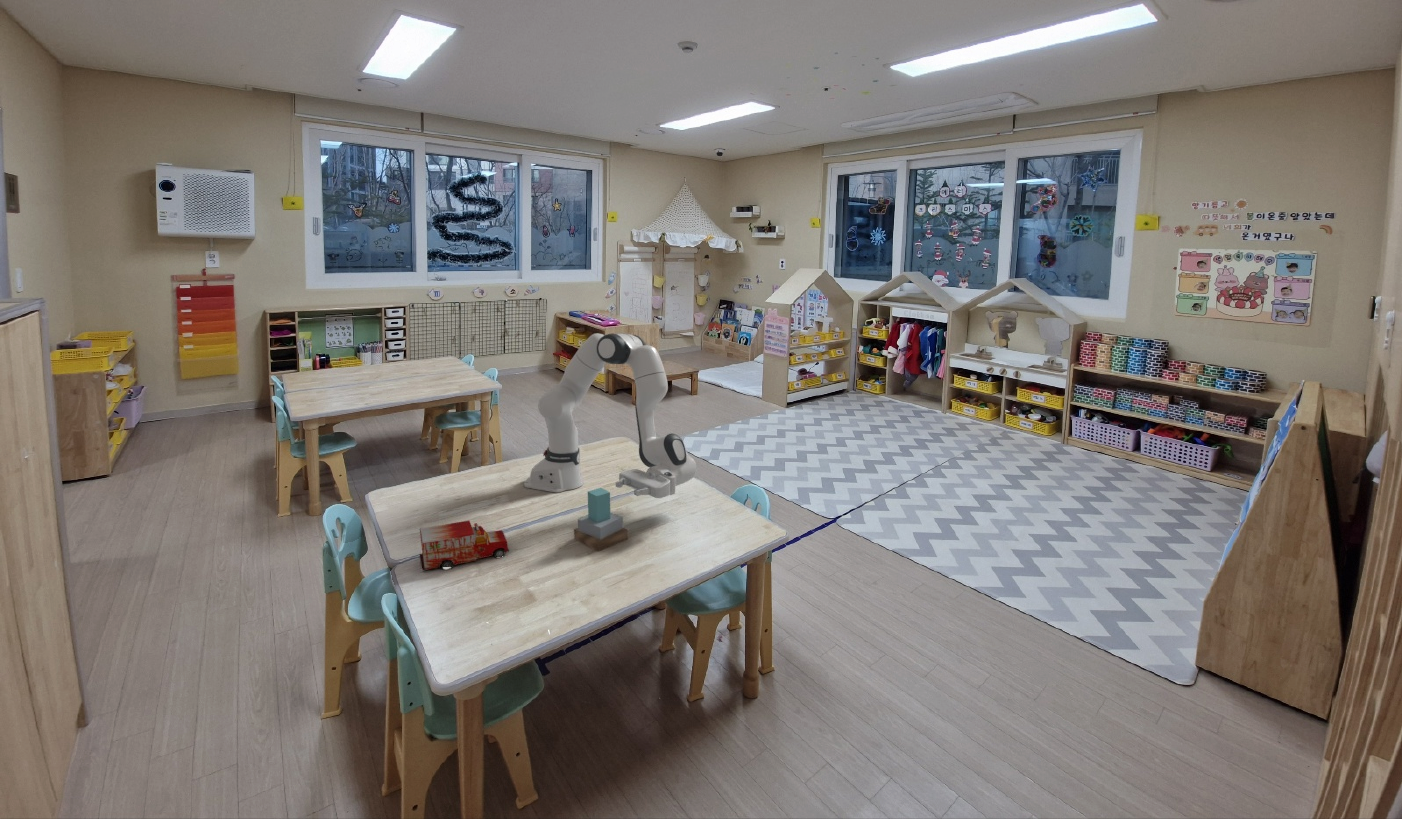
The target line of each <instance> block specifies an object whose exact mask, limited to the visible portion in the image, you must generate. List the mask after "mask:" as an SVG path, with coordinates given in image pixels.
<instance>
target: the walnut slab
mask: <svg viewBox="0 0 1402 819" xmlns="http://www.w3.org/2000/svg"><path fill="white" fill-rule="evenodd" d="M573 537H574V540H575V541H577V542H579V543H581V544H582V545H585V546H587V547H588V548H590V549H592V550H594V551H596V552H600V551H603V550H605V549H607V548H610V547H612V546H614V545H617V544H620V543H622V542H624V541H627V540H628V528H625V527H623V529H621V530H619V531H617V532H615V533H613V534H611V535H609V536H607V537H605V538H603V539H598V538H595V537H593V536H590V535H588V534H585V533H582V532H580V531H578V527H577V528H575V529H573Z"/></svg>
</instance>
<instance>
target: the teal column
mask: <svg viewBox="0 0 1402 819" xmlns="http://www.w3.org/2000/svg"><path fill="white" fill-rule="evenodd" d="M587 511H588V512H587V515H588V518H590V519H591V520H593V521H594V522H596V523H599V522H602V521H605V520H608V519H610V513H611V492H610V491H608V490H607V489H604V488H602V487H598V488H594V489H591V490H587Z"/></svg>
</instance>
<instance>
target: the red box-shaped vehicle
mask: <svg viewBox="0 0 1402 819" xmlns="http://www.w3.org/2000/svg"><path fill="white" fill-rule="evenodd" d="M473 526H474V527H473ZM473 526H472V524H471V521H470V520H465V521H457V522H451V523H445V524H441V525H433V526H427V527H421V528H419V534H420V544H421V545H420V546H421V553H420V554H419V560H420V564H421V565H420V566H421V571H422V572H424V571H428V570H434V569H438V567H439V568H440V567H441V568H442V567H452V566H455V565H460V564H465V563H471V562H475V561H476V562H477V559H482V558H486V557H487V558H488V557H492V556H493V555H494V557H495V558H496V557H500V558H503V557H504V556H506V555H505V553H507V552H509V551H510V548H509V544H508V540H507V539H506V536H505V533H504V531H503V530H493V531H486V530H485V529H484V527H482V525H479V524H478V523H476V522H475V523H474V524H473ZM502 556H503V557H502ZM433 568H434V569H433ZM452 568H453V567H452Z"/></svg>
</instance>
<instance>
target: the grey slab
mask: <svg viewBox="0 0 1402 819" xmlns="http://www.w3.org/2000/svg"><path fill="white" fill-rule="evenodd" d="M623 518H624V517H623V516H621V515H618V514H616V513H612V512H610V519H608V520H605V521H602V522H599V523H596V522H594V521H593V520H591V519H590V518H588V514H586V515H583V516H582V517H580V518H577V528H578V531H580V532H582V533H585V534H588V535H590V536H593V537H595V538H598V539H603V538H605V537H607V536H609V535H611V534H613V533H615V532H617V531H619V530H621V529H623V528H624V519H623Z"/></svg>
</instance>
